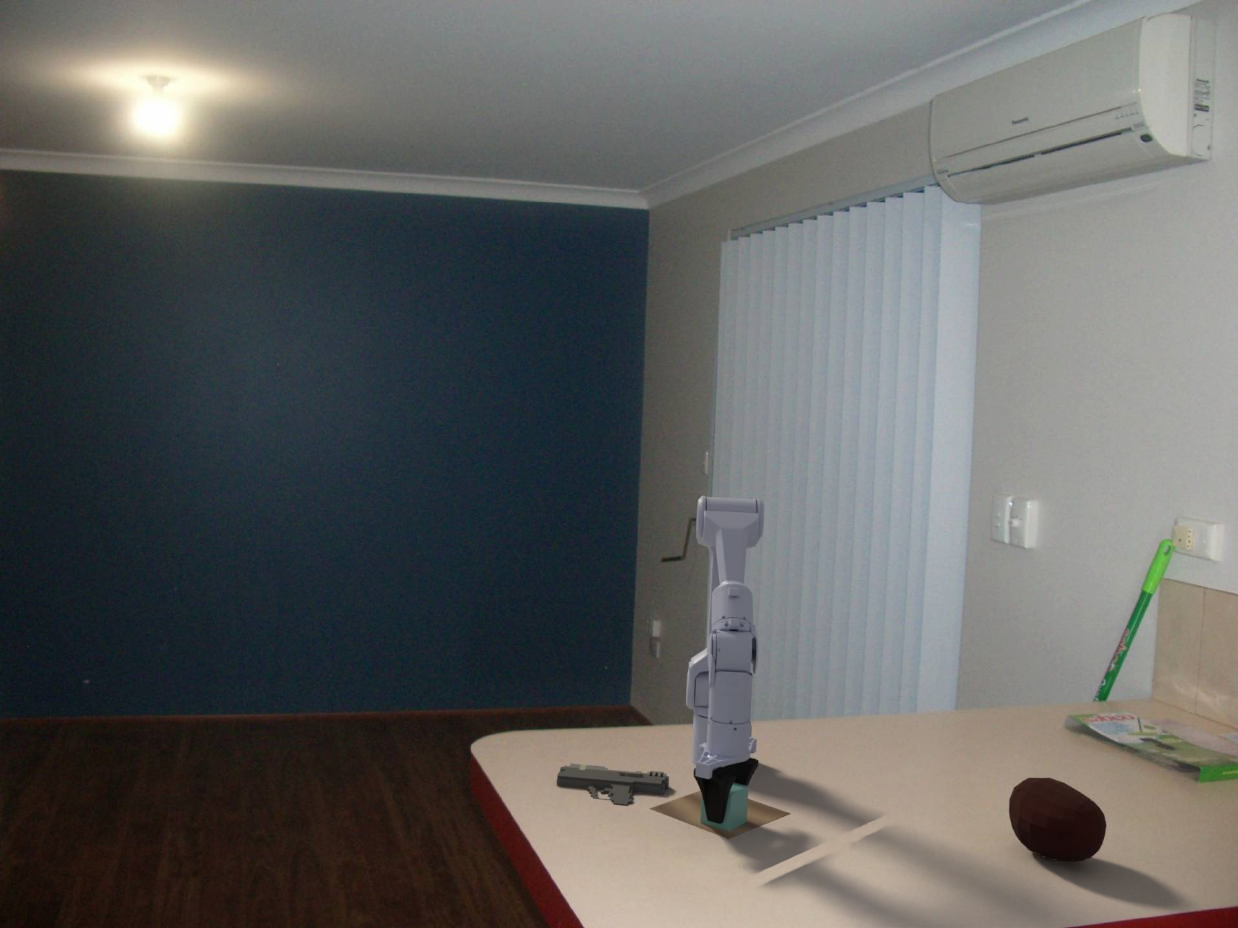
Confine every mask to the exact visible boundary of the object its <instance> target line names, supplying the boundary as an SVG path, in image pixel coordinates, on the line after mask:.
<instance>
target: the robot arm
mask: <svg viewBox="0 0 1238 928" xmlns="http://www.w3.org/2000/svg"><path fill="white" fill-rule="evenodd" d="M696 507H697V508H696V525H695V526H696V527H695V528H696V533H695V534H696V535H695V536H696V537H695V538H696V540H697V544H698V545H700V546H704V547H707V548H708V552H709V553H710V557H711V567H710V582H709V586H710V587H709V601H708V603H709V604H708V617H707V618H708V620H707V637H706V638H707V641H706V643H707V644H706V647H705V648H704V649H703V650H702V651H700V652H699V653H697V654H695V655H694V656H692V657H691V658H690V661H688V671H687V675H686V688H685V689H686V690H685V691H686V693H685V694H686V695H685V696H686V698H685V703H686V704H685V705H686V706H687V708H688V709H689V710H693V720H692V721H693V722H692V723H693V725H692V739H691V741H692V743H691V763H692V764H693V765H695V768H693V778H694V779H695V781H696V783H697V785H698V787H699V789H700V790H699V791H701V793H702V797H703V801H704V806H705V812H706V817H707V821H710V822H714V823H718V824H721V823H723V820H724V817H725V813H726V806H727V800H728V796H729V793H730V790H731V787H732V785H733V783H734V782H735V783H738V784H742V785H746V786H749V784H750V781H751V780H752V777H753V775H754V773H755V772H756V770H757V768H758V767H759V764H760V763H759V762H760V761H759V760H758V759H757V758H755V757H754V758H753V757H751V754H755V753H756V752H757V740H758V739H757V738H755V737H752V734H753V733H752V731H753V725H752V721H751V717H752V716H751V715H752V714H751V713H752V694H753V680H754V678H753V677H754V676H753V674H754V675H756V672H757V668H758V663H759V662H758V661H759V638H758V634H757V630H756V628H757V627H756V624H754V603H753V602H754V601H753V598H754V597H753V592H752V591H751V589H750V588H749V587H748V586H746V585H745V576H746V575H745V573H746V562H747V561H746V560H747V549H750V548H755V547H756V546H757V544H758V543H759V542H760V540H761V538H762V537H763V533H764V524H765V521H764V520H765V505H764V502H763V501H762V500H761V498H758V497H757V498H737V497H736V498H734V497H718V496H717V497H715V496H714V497H713V496H706V495H701V496H700V497H699V498H698V499H697V506H696ZM751 669H752V672H751ZM752 673H753V674H752Z"/></svg>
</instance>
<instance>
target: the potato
mask: <svg viewBox="0 0 1238 928" xmlns="http://www.w3.org/2000/svg"><path fill="white" fill-rule="evenodd" d="M1008 803H1009V804H1008V814H1009V816H1008V817H1009V820H1010V825H1011V828H1012V830H1013V832H1014V835H1015V837H1016V838H1017V839H1018V841H1019V842H1020V843H1021V844H1022V845H1023V846H1024V847H1025V848H1026V849H1027V850H1028V851H1030V852H1032V853H1034V854H1036V855H1038V856H1039V857H1040V856H1041V857H1043V858H1045V859H1047V860H1051V861H1052V860H1053V861H1059V862H1073V863H1074V862H1075V863H1076V862H1077V863H1078V862H1082V861H1083V862H1084V861H1086V860H1089V859H1091V858H1093V857H1094V856H1095V855H1096V854H1097V853H1099V851H1100V849H1101V848H1102V846H1103V843H1104V839H1105V837H1106V832H1107V821H1106V815H1105V813H1104V812H1103V810H1102V809H1101V807H1100V806H1099V805H1098V804H1097V803H1096V802H1095V801H1094V800H1092V799H1091V798H1090V797H1088V796H1087V795H1085V794H1084V793H1082V792H1081V791H1079V790H1077V789H1076V788H1074V787H1072V786H1071V785H1070V784H1068V783H1065V782H1064V781H1061V780H1057V779H1055V778H1052V777H1027V778H1025V779H1024V780H1022V781H1021V782H1019V783H1018V784H1016V786H1014V787H1013V790H1012V791H1011V795H1009V800H1008Z"/></svg>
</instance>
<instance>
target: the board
mask: <svg viewBox="0 0 1238 928" xmlns="http://www.w3.org/2000/svg"><path fill="white" fill-rule="evenodd" d="M701 800H702V793H701V790H699V791H695V792H693V793H691V794H690V793H689V794H687V795H684V796H682V797H678V798H676V799H672V800H669V801H667V802H664V803H661V804H659V805H658V804H657V805H655V806H652V807H650V808H649V810H651V811H654V812H657V813H660V814H662V815H664V816H667V817H671V818H673V819H674V820H678V821H681V822H683V823H686V824H688V825H690V826H694V827H696V828H698V829H701V830H704V831H706V832H709V833H712V834H715V835H717V836H719V837H723V838H725V839H728V840H730V839H731V838H733V837H737V836H739V835H741V834H743V833H747V832H749V831H751V830H754V829H757V828H758V827H762V826H764V825H767V824H769V823H771V822H773V821H776V820H779V819H781V818H784V817H785V816H789V815H791V814H792V813H791V812H788V811H785V810H783V809H780V808H776V807H773V806H770V805H768V804H765V803H762V802H759V801H757V800H753V799H751V798H748V805H747V822H745V823H744V824H742V825H740V826H738V827H737V828H735V829H733V830H731V831H726V830H723V829H719V828H716V827H713V826H709V825H706V824H703V823H700V819H701Z"/></svg>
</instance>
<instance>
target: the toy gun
mask: <svg viewBox="0 0 1238 928" xmlns="http://www.w3.org/2000/svg"><path fill="white" fill-rule="evenodd" d="M556 786H561V787H571V788H581V789H587V792H588V793H589V794H590V798H592V799H594V800H603V801H611V803H612V804H613V805H617V806H626V807H627V806H629V804H630V805H631V804H635V801H633V800H634V795H633V794H636V793H640V794H648V795H650V794H651V795H661V796H663V795H664V793H665V791H666V789H669V787H670V776H669V775H668V774H667V773H665V771H655V770H650V771H647V772H643V771H640V770H636V771H627V770H619V769H617V770H616V769H608V767H606V766H603V765H590V764H589V765H588V764H582V763H581V764H580V763H570V764H569V765H564V766H561V767H560V769H559V771H558V773H557V778H556ZM597 790H599V791H600V794H601V795H604V794H607V797H608V798H609V799H607V798H601V797H599V796H598V794H599V793H598V791H597Z"/></svg>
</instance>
